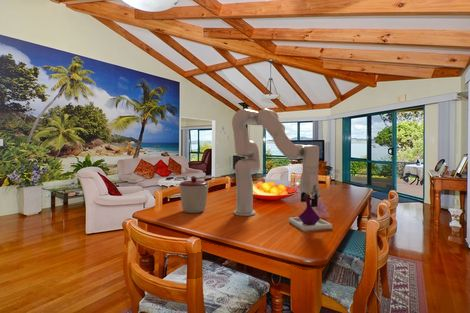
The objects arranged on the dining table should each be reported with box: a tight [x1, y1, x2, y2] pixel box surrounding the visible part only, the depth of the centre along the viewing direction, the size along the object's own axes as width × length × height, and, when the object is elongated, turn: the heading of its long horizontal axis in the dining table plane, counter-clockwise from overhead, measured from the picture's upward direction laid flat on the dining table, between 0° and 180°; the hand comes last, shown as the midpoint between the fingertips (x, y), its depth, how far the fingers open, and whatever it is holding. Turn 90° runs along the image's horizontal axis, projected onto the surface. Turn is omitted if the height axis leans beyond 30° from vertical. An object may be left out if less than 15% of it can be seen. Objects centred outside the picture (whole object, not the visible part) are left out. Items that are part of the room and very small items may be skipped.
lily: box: [312, 196, 330, 218], centre depth 144 cm, size 12×12×10 cm
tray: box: [288, 216, 333, 233], centre depth 128 cm, size 15×15×2 cm
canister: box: [178, 175, 210, 214], centre depth 153 cm, size 18×18×21 cm
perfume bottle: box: [298, 193, 321, 225], centre depth 127 cm, size 8×8×18 cm
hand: (308, 204), depth 127 cm, fingers open, 9 cm apart
